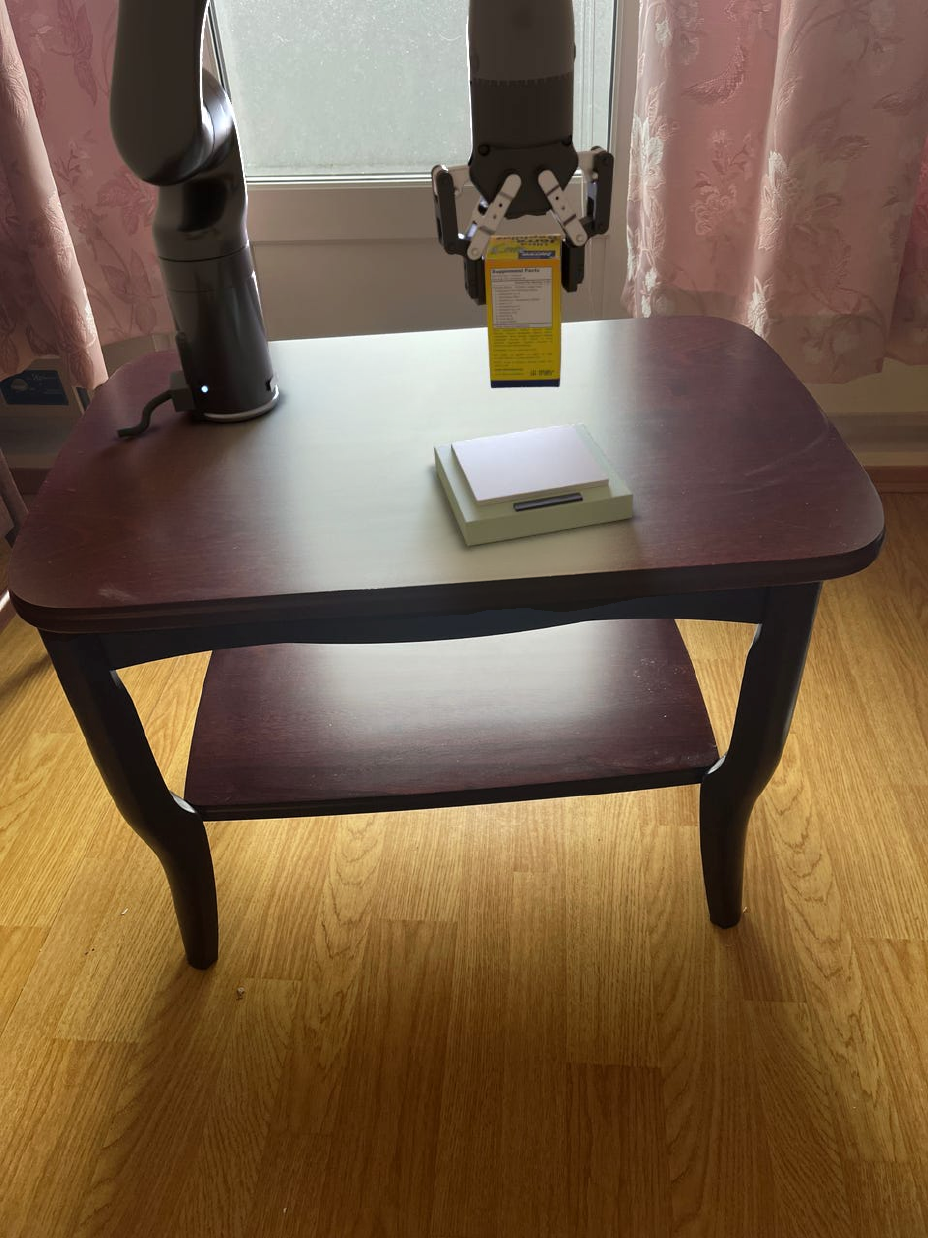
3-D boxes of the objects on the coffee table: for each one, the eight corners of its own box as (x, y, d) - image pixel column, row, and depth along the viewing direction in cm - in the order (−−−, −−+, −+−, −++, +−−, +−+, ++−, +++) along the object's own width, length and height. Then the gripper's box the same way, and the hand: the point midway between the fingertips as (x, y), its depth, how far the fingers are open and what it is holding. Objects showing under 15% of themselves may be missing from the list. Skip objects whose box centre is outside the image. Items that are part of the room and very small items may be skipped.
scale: (467, 546, 82) (465, 516, 80) (435, 468, 93) (433, 440, 91) (631, 518, 84) (633, 488, 82) (582, 445, 95) (582, 417, 93)
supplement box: (561, 359, 84) (562, 231, 77) (560, 389, 79) (561, 256, 73) (494, 359, 85) (489, 233, 78) (489, 389, 80) (484, 258, 73)
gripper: (599, 47, 71) (593, 269, 82) (412, 66, 69) (429, 292, 80) (636, 63, 66) (623, 299, 76) (432, 84, 64) (448, 324, 74)
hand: (524, 295), depth 78 cm, fingers closed on supplement box, 7 cm apart
